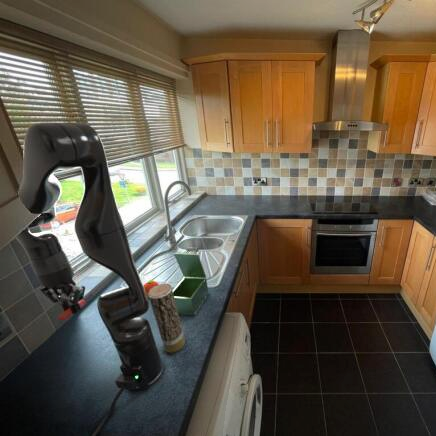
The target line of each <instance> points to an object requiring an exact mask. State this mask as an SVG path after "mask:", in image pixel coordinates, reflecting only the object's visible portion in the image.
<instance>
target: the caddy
mask: <svg viewBox="0 0 436 436" xmlns="http://www.w3.org/2000/svg"><path fill="white" fill-rule="evenodd" d="M172 291H173V295H174V299H175V303H176V307H177V310H178V314H179V315H183V316H185V315H186V316H194V317H195V316H196V315H197V314H198V312H199V310H200V308H201V307H202V305H203V304H204V302H205V300H206V299H207V297H208V296H209V295H210V292H209V287H208V281H207V277H206V278H197V277H184V276H183V277H182V279H181V280H180V281H179V282H178V283H177V285H176V286H175V287H174V288H173V289H172Z"/></svg>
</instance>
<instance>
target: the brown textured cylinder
mask: <svg viewBox="0 0 436 436" xmlns="http://www.w3.org/2000/svg"><path fill="white" fill-rule="evenodd" d="M158 284H159V283H158ZM147 297H148V301H149V304H150V306H151V309H152V312H153V317H154V319H155V322H156V326H157V329H158V332H159V336H160V339H161V341H162V345H163V348H164V350H165V352H166V353H170V354H172V353H176V352H179V351H180V350H181V349H182V348H183V347H184V345H185V343H186V339H185V335H184V331H183V326H182V323H181V320H180V314H178V310H177V307H176V303H175V299H174V295H173V287H172V285H171V284H169V283H160V284H159V285H156V286H154V287H153V288H151V289H150V290H149V292H148V296H147Z"/></svg>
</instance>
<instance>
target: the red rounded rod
mask: <svg viewBox="0 0 436 436" xmlns="http://www.w3.org/2000/svg"><path fill="white" fill-rule="evenodd" d="M78 303H79V305H80V307H81V308H82V307H83V306H84V305H85V304H86V300H84V299H82V300H81V301H79V302H78ZM72 315H74V314H73V313H72V311H71V309H70V308H69V309H67V310H66V311H63V312H62V313H61V314H60V315H59V316H58V319H59V320H60V321H64V320H66V319H68V318H69V317H71V316H72Z"/></svg>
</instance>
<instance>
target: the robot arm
mask: <svg viewBox="0 0 436 436" xmlns="http://www.w3.org/2000/svg"><path fill="white" fill-rule="evenodd" d="M77 168H80V170H81V173H82V178H83V186H84V189H83V195H82V198H81V201H80V203H79V207H78V209H77V212H76V215H75V220H74V224H73V225H74V232H75V234H76V235H75V236H76V237H77V241H78V242H79V246H80V247H81V250H82V252H83V254H84V255H85V256H86V257H88V258H89V259H90V260H92V261H93V262H94V263H96V264H98V265H100V266H102V267H104V268H105V269H107V270H109V271H111V272H113V273H114V274H116V275H117V276H118V277H120V279H121V280H123V281H124V283H125V284H126V286H123V287H120V288H117V289H114V290H111V291H108V292H106V293H103V294H101V295H100V296H99V297H98V298H97V304H96V307H97V310H98V314H99V317H100V318H101V321H102V323H103V324H104V326H105V328H106V330H107V332H108V334H109V336H110V338H111V340H112V343H113V345H114V348H115V350H116V352H117V354H118V357H119V360H120V362H121V365H120V366H119V369H120V372H121V373H120V374H119V375H118V376H117V378H116V379H115V381H114V382H115V384H116V387H117V389H119V390H118V392H117V394H116V395H115V396H114V398H113V400H112V402H111V403H110V407H109V409H108V411H107V412H106V414H105V416H104V417H103V419H102V420H101V422H100V424H99V425H98V426H97V428H96V429H95V430H94V432H93V433H92V434H91V436H97V435H98V434H99V432H100V431H101V430H102V429H103V427H104V425H105V423H107V420H108V419H109V417H110V416H111V414H112V412H113V411H114V409H115V406H116V403H117V402H118V400H119V398H120V396H122V393H123V392H124V390H130V391H131V390H132V391H136V390H140V391H141V390H142V391H147V390H148V389H149V387H150V386H152V385H154V384H155V383H156V382H157V381H158V380H159V379H160V378H161V376H162V375H163V373H164V368H165V367H164V363H163V361H162V358H161V355H160V352H159V348H158V346H157V343H156V340H155V337H154V334H153V330H152V328H151V327H152V326H151V324H150V322H149V320H148V319H147V318H145V317H141V316H143V315H145V314H146V313H147V312H148V311H149V308H150V301H149V296H147V294H146V292H145V289H144V284H143V281H142V279H141V276H140V274H139V271H138V269H137V267H136V263H135V261H134V256H133V252H132V249H131V246H130V241H129V238H128V234H127V230H126V227H125V224H124V222H123V219H122V217H121V213H120V211H119V207H118V204H117V201H116V197H115V193H114V188H113V186H112V185H113V184H112V181H111V174H110V170H109V164H108V159H107V154H106V151H105V146H104V144H103V142H102V139H101V137H100V135H99V133H98V132H97V131H96V130H95V128H94V127H92V125H90V124H88V123H85V122H51V121H49V122H48V121H47V122H36V123H33V124H31V125H30V126H29V127H28V128H27V129H26V131H25V134H24V140H23V158H22V179H21V180H22V181H21V183H20V186H19V188H18V190H19V191H18V190H17V192H18V195H19V197H20V199H21V201H22V203H23V204H24V205H25V207H26V208H27V209H28V210H29V211H30V212H31V213H33V214H41V215H40V216H39V217H37V218H36V219H35V220H34V221H33V222H32V223H31V224H30V225H29V226H28V227H27V228H26V229H25V230H23V231H22V232H21V233H20V234H19V235H18V236H17V237H16V238H15V239H16V240H17V242H18V243H19V244H20V246H22V248H23V249H24V251H25V253H26V255H27V257H28V259H29V262H30V263H29V264H30V266H31V269H32V270H33V272H34V274H35V276H36V278H37V280H38V281H39V284H40V286H41V288H39V291H40V292H41V293H42V294H43V295H44V296H46V298H48V299H49V300H50V301H51V302H52V303H53V304H56V303H57V304H58V305H59V306H61V308H62V309H63V312H65V311H66V310H67V309H69V308H70V309H71V311H72V313H73V314H72V315H76V314H78V313H79V312H80V311H81V310H82V307H80V305H79V303H78V302H79V301H81V300H84V296H85V293H86V287H85V286H84V285H80V286H78V285H77V283H76V282H75V280H73V278H74V276H75V272H74V270H73V267H72V265H71V263H70V261H69V258H68V256H67V254H66V253H65V251H64V249H63V248H62V245H61V243H60V241H59V238H58V236H57V235H56V233H54V232H51V231H41V232H35V233H32V232H31V231H30V230H31V229H34V228H37V227H40V226H44V225H47V224H49V223H52V222H53V221H54V220H55V219H56V218H57V212H56V204H57V202H58V201H59V199H60V197H61V195H62V193H63V191H62V185H61V183H60V181H59V180H58V179H57V177H56V176H54V173H55V172H57V171H59V170H70V169H77Z"/></svg>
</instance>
